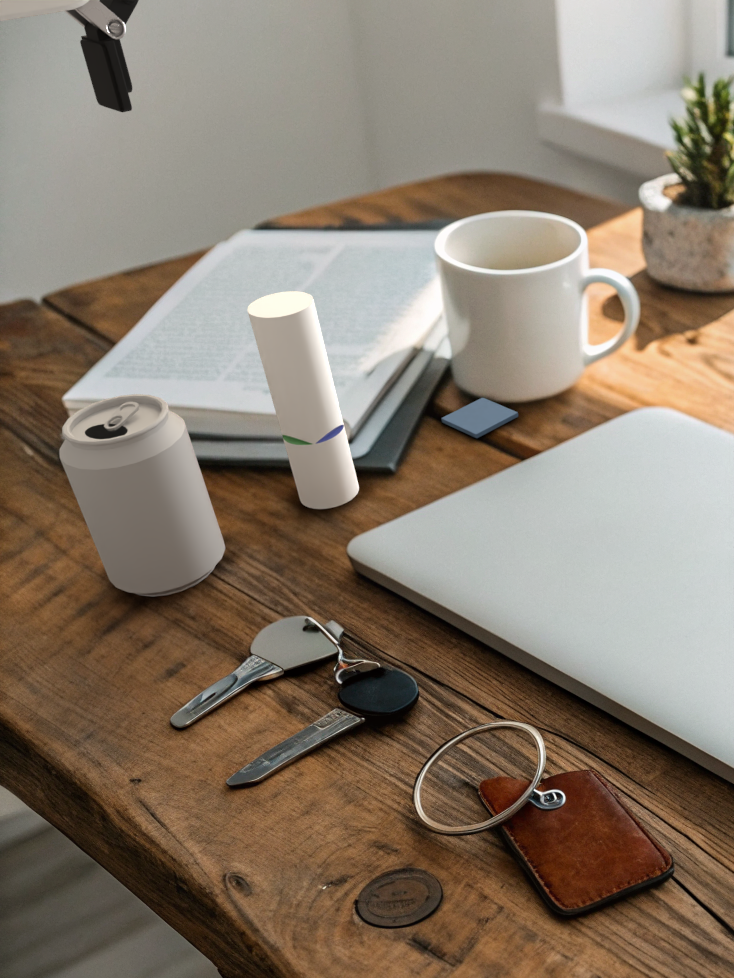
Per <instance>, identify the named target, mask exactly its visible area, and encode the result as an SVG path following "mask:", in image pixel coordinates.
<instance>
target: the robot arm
mask: <svg viewBox="0 0 734 978" xmlns="http://www.w3.org/2000/svg"><path fill="white" fill-rule="evenodd" d="M138 3H139V0H0V22H5V21H13V20H19V19H24V18H31V17H38V16H45V15H51V14H57V13H62V12H64V13H66V14H67V16H69V17H70V18H72V19H73V20H74V21H75V22H77V24H79V25H81V27H83V28H84V29H83V30H84V32H85V35H81V36H80V38H81V39H80V42H79V43H80V47H81V50H82V54H83V57H84V61H85V64H86V68H87V72H88V75H89V79H90V82H91V85H92V88H93V92H94V96H95V99H96V102H97V104H98V105H99V106H102V107H104V108H107V109H111V110H113V111H116V112H120V113H126V112H127V113H128V112H131V111H132V110H133V106H132V105H133V104H132V102H131V98H130V95H129V93H132V92H133V83H132V80H131V76H130V72H129V68H128V65H127V61H126V57H125V53H124V50H123V46H122V43H121V39H123V37H125V35H126V33H127V27H126V25H127V23H128V21H129V19H131V16H132V14H133V12H134V11H135V8H136V7H137V5H138Z"/></svg>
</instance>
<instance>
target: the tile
mask: <svg viewBox="0 0 734 978" xmlns="http://www.w3.org/2000/svg"><path fill="white" fill-rule="evenodd" d="M516 418H519V413H518V411H515V410H514V409H511V408H508V407H506V406H504V405H501V404H499V403H497V402H494V401H492V400H490V399H488V398H486V397H480V398H479V399H476V400H475V401H472V402H470V403H469V404H467V405H464V406H462V407H461V408H458V409H457V410H455V411H453V412H451V413H449V414H446V415H445V416H443V417H441V418H440V420H441V423H443V424H444V425H447V426H449V427H451V428H453V429H455V430H457V431H459V432H462V433H464V434H466V435H468V436H470V437H472V438H475V439H479V438H481V437H482V436H485V435H487V434H489V433H490V432H492V431H494V430H496V429H499V428H500V427H502V426H504V425H505V424H507V423H510V422H511V421H513V420H515V419H516Z"/></svg>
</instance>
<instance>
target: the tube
mask: <svg viewBox="0 0 734 978" xmlns="http://www.w3.org/2000/svg"><path fill="white" fill-rule="evenodd" d="M246 311H247V314H248V318H249V321H250V325H251V329H252V332H253V335H254V340H255V344H256V347H257V350H258V354H259V358H260V361H261V364H262V368H263V371H264V372H263V373H264V375H265V379H266V382H267V386H268V390H269V393H270V397H271V401H272V405H273V408H274V411H275V414H276V419H277V422H278V426H279V430H280V432H281V437H282V440H283V444H284V447H285V451H286V454H287V458H288V461H289V465H290V469H291V472H292V476H293V480H294V484H295V486H296V490H297V494H298V498H299V501H300V503H301V504H302V505H303V506H305V507H307V508H308V509H313V510H328V509H332V508H337V507H340V506H343V505H345V504H347V503H348V502H350V501H352V500H353V499H354V498H355V497H356V496H357V495H358V494H359V491H360V485H359V482H358V481H359V480H358V477H357V472H356V469H355V465H354V461H353V457H352V453H351V452H352V451H351V448H350V444H349V440H348V436H347V432H346V428H345V427H346V426H345V424H344V419H343V416H342V412H341V408H340V402H339V399H338V395H337V391H336V386H335V382H334V379H333V373H332V369H331V366H330V362H329V358H328V353H327V350H326V345H325V341H324V337H323V332H322V329H321V325H320V320H319V317H318V316H319V315H318V312H317V307H316V303H315V300H314V296H312V295H311V294H310V293H307V292H304V291H296V290H293V291H292V290H291V291H280V292H275V293H270V294H266V295H264V296H262V297H259V298H256V300H253V301H252V302H251V303H250V304H249V305H248V306H247V310H246Z"/></svg>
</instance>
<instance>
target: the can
mask: <svg viewBox="0 0 734 978" xmlns="http://www.w3.org/2000/svg"><path fill="white" fill-rule="evenodd" d="M185 422H186V421H185V419H183V418H182V417H181V416H179V414H178V413H176V412H173V411H171V410H170V408H169V405H168V402H167V401H166V400H164V399H163V398H161V397H159V396H155V395H151V394H143V393H142V394H140V393H134V394H124V395H118V396H113V397H109V398H103V399H102V400H98V401H96V402H93V403H91V404H89V405H87V406H85V407H83V408H81V409H78V410H77V411H76V412H75V413H73V414H72V415H70V417H68V418H67V420H66V421H65V422H64V424H63V426H62V427H61V432H62V433H61V434H62V437H63V438H64V441H63V442H62V444H61V446H60V448H59V459H60V462H61V465H62V467H63V470H64V472H65V475H66V477H67V479H68V482H69V485H70V486H71V489H72V492H73V494H74V497H75V499H76V501H77V504H78V506H79V509H80V512H81V514H82V516H83V518H84V521H85V524H86V526H87V529H88V531H89V533H90V536H91V538H92V541H93V544H94V546H95V548H96V551H97V554H98V556H99V559H100V561H101V563H102V565H103V568H104V571H105V573H106V576H107V579H108V581H109V582H110V583H111V584H112V585H113V586H114V587H115V588H117V589H119V590H121V591H124V592H126V593H130V594H135V595H137V596H141V597H150V598H151V597H153V598H156V597H163V596H170V595H173V594H177V593H180V592H183V591H186V590H188V589H190V588H193V587H195V586H196V585H198V584H199V583H200V582H202V581H203V580H205V579H207V578H208V577H209V576H210V574H211V573H212V572H213V571H214V570H215V568H216V565H217V564H218V563H220V562H221V560H222V559H223V556H224V554H225V551H226V545H225V541H224V537H223V534H222V531H221V528H220V525H219V521H218V519H217V516H216V513H215V510H214V506H213V504H212V501H211V498H210V495H209V492H208V489H207V486H206V483H205V479H204V475H203V474H202V470H201V468H200V465H199V462H198V459H197V455H196V452H195V449H194V446H193V443H192V440H191V437H190V435H189V430H188V428H187V425H186V423H185Z"/></svg>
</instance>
